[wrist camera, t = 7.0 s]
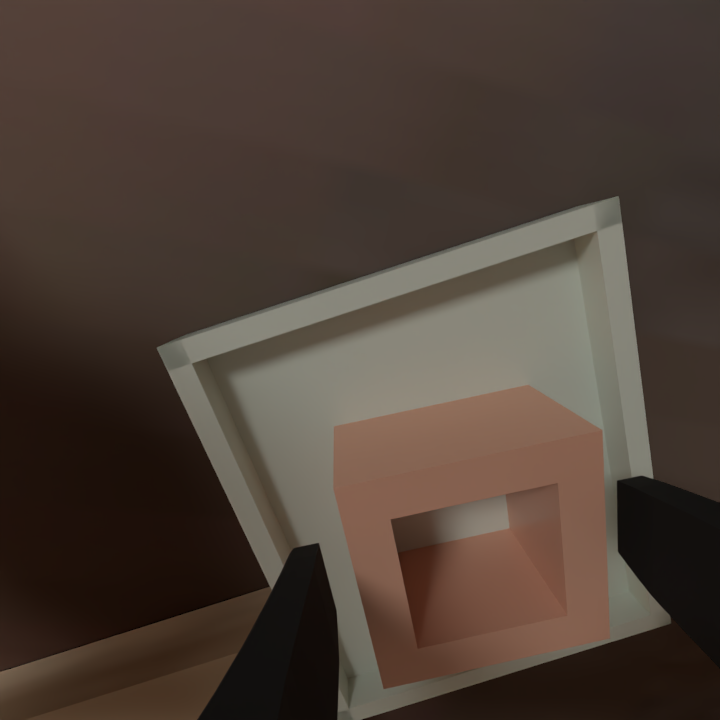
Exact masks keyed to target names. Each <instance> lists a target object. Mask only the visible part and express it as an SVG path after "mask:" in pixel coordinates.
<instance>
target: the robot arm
mask: <svg viewBox="0 0 720 720" xmlns="http://www.w3.org/2000/svg"><path fill="white" fill-rule="evenodd" d="M617 532H618V553H619V554H620V555H621V557H622V558H623V559H624V561H625V562H626V563H627V565H628V566H629V567H630V569H631V570H632V571H633V573H634V574H635V576H636V577H637V578H638V579H639V581H640V582H641V583H642V584H643V586H644V587H645V588H646V589H647V591H648V592H649V593H650V594H651V596H652V597H653V598H654V599H655V600H656V601H657V602H658V603H659V604H660V606H661V607H662V608H663V609H664V610H665V611H666V612H667V613H668V614H669V615H670V616H671V617H672V618H673V619H674V621H675V622H676V623H677V624H678V625H679V626H680V627H681V628H682V629H683V630H684V631H685V632H686V633H687V634H688V635H689V636H690V638H691V639H692V640H693V641H694V642H695V643H696V644H697V645H698V646H699V647H700V648H701V649H702V650H703V651H704V652H705V653H706V654H707V655H708V656H709V657H710V659H711V660H712V661H713V662H714V663H715V664H716V665H717V666H718V667H719V668H720V503H719V502H716V501H713V500H710V499H708V498H705V497H702V496H700V495H697V494H694V493H692V492H689V491H686V490H683V489H681V488H678V487H675V486H672V485H669V484H667V483H664V482H661V481H658V480H655V479H652V478H648V477H645V476H637V477H632V478H627V479H622V480H618V481H617ZM338 689H339V643H338V625H337V610H336V607H335V603H334V599H333V595H332V591H331V587H330V583H329V580H328V576H327V572H326V568H325V564H324V560H323V557H322V553H321V549H320V545H319V543H315V544H311V545H306V546H301V547H296V548H293V549H292V551H291V552H290V554H289V556H288V558H287V560H286V562H285V564H284V567H283V569H282V571H281V573H280V575H279V577H278V579H277V581H276V583H275V585H274V587H273V589H272V591H271V593H270V595H269V597H268V599H267V601H266V603H265V605H264V607H263V609H262V610H261V612H260V614H259V616H258V618H257V620H256V622H255V623H254V625H253V627H252V629H251V631H250V633H249V635H248V636H247V638H246V640H245V642H244V644H243V645H242V647H241V649H240V650H239V652H238V654H237V656H236V657H235V659H234V661H233V662H232V664H231V666H230V667H229V669H228V671H227V672H226V674H225V676H224V677H223V679H222V681H221V682H220V684H219V686H218V688H217V689H216V691H215V692H214V694H213V696H212V697H211V699H210V700H209V702H208V704H207V705H206V707H205V708H204V710H203V711H202V713H201V714H200V716H199V718H198V719H197V720H337V716H338Z"/></svg>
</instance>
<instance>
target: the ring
mask: <svg viewBox="0 0 720 720" xmlns="http://www.w3.org/2000/svg"><path fill="white" fill-rule="evenodd" d="M333 489H334V493H335V497H336V501H337V505H338V509H339V513H340V517H341V521H342V525H343V529H344V533H345V537H346V541H347V545H348V549H349V553H350V557H351V561H352V565H353V569H354V573H355V577H356V581H357V585H358V589H359V593H360V597H361V601H362V605H363V609H364V613H365V617H366V621H367V625H368V629H369V633H370V637H371V641H372V645H373V649H374V653H375V657H376V661H377V665H378V669H379V673H380V677H381V681H382V685H383V689H387V688H392V687H396V686H401V685H405V684H409V683H414V682H418V681H423V680H427V679H432V678H436V677H441V676H445V675H450V674H454V673H459V672H463V671H467V670H472V669H476V668H481V667H485V666H490V665H494V664H499V663H503V662H508V661H512V660H516V659H521V658H525V657H530V656H534V655H539V654H543V653H548V652H552V651H557V650H561V649H566V648H570V647H574V646H579V645H583V644H588V643H592V642H597V641H601V640H606V639H610V624H609V596H608V569H607V541H606V513H605V486H604V458H603V430H601V429H600V428H598V427H596V426H595V425H593V424H592V423H590V422H588V421H587V420H585V419H583V418H582V417H580V416H579V415H577V414H575V413H574V412H572V411H570V410H569V409H567V408H566V407H564V406H562V405H561V404H559V403H557V402H556V401H554V400H553V399H551V398H549V397H548V396H546V395H544V394H543V393H541V392H540V391H538V390H536V389H535V388H533V387H531V386H530V385H525V386H520V387H515V388H511V389H506V390H501V391H497V392H492V393H487V394H483V395H478V396H473V397H469V398H464V399H459V400H455V401H450V402H445V403H441V404H436V405H431V406H427V407H422V408H417V409H413V410H408V411H403V412H399V413H394V414H389V415H385V416H380V417H375V418H371V419H366V420H361V421H357V422H352V423H347V424H343V425H338V426H334V461H333ZM505 494H506V502H507V511H508V519H509V528H508V529H504V530H499V531H495V532H490V533H486V534H481V535H476V536H472V537H467V538H463V539H458V540H454V541H449V542H445V543H440V544H435V545H431V546H426V547H422V548H417V549H413V550H408V551H404V552H399V553H397V548H396V543H395V538H394V534H393V529H392V524H391V520H390V519H395V518H400V517H404V516H409V515H413V514H418V513H423V512H427V511H432V510H436V509H441V508H445V507H450V506H455V505H459V504H464V503H468V502H473V501H478V500H482V499H487V498H491V497H496V496H500V495H505Z"/></svg>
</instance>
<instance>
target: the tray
mask: <svg viewBox="0 0 720 720" xmlns="http://www.w3.org/2000/svg"><path fill="white" fill-rule="evenodd" d="M157 350H158V352H159V354H160V356H161V358H162V360H163V362H164V365H165V367H166V369H167V371H168V373H169V375H170V377H171V379H172V381H173V383H174V386H175V388H176V390H177V392H178V394H179V396H180V398H181V400H182V402H183V404H184V407H185V409H186V411H187V413H188V415H189V417H190V419H191V421H192V423H193V426H194V428H195V430H196V432H197V434H198V436H199V438H200V440H201V442H202V444H203V447H204V449H205V451H206V453H207V455H208V457H209V459H210V461H211V463H212V466H213V468H214V470H215V472H216V474H217V476H218V478H219V480H220V482H221V484H222V487H223V489H224V491H225V493H226V495H227V497H228V499H229V501H230V503H231V506H232V508H233V510H234V512H235V514H236V516H237V518H238V520H239V522H240V524H241V527H242V529H243V531H244V533H245V535H246V537H247V539H248V541H249V543H250V545H251V548H252V550H253V552H254V554H255V556H256V558H257V560H258V562H259V564H260V567H261V569H262V571H263V573H264V575H265V577H266V579H267V581H268V583H269V585H270V588H271V590H272V589H273V587H274V585H275V583H276V581H277V579H278V577H279V575H280V573H281V571H282V569H283V567H284V564H285V562H286V560H287V558H288V556H289V554H290V552H291V551H292V549H293V548H296V547H301V546H306V545H311V544H315V543H319V545H320V549H321V553H322V557H323V560H324V564H325V568H326V572H327V576H328V580H329V583H330V587H331V591H332V595H333V599H334V603H335V607H336V610H337V625H338V643H339V689H338V716H337V720H362V719H365V718H368V717H371V716H375V715H378V714H381V713H384V712H388V711H391V710H394V709H397V708H400V707H404V706H407V705H410V704H413V703H417V702H420V701H423V700H426V699H429V698H433V697H436V696H439V695H442V694H446V693H449V692H452V691H455V690H458V689H462V688H465V687H468V686H471V685H475V684H478V683H481V682H484V681H487V680H491V679H494V678H497V677H500V676H504V675H507V674H510V673H513V672H516V671H520V670H523V669H526V668H529V667H533V666H536V665H539V664H542V663H545V662H549V661H552V660H555V659H558V658H562V657H565V656H568V655H571V654H574V653H578V652H581V651H584V650H587V649H591V648H594V647H597V646H600V645H603V644H607V643H610V642H613V641H616V640H620V639H623V638H626V637H629V636H632V635H636V634H639V633H642V632H645V631H649V630H652V629H655V628H658V627H661V626H665V625H668V624H671V618H670V615H669V614H668V613H667V612H666V611H665V610H664V609H663V608H662V607H661V606H660V604H659V603H658V602H657V601H656V600H655V599H654V598H653V597H652V596H651V594H650V593H649V592H648V591H647V589H646V588H645V587H644V586H643V584H642V583H641V582H640V581H639V579H638V578H637V577H636V576H635V574H634V573H633V571H632V570H631V569H630V567H629V566H628V565H627V563H626V562H625V561H624V559H623V558H622V557H621V555H620V554H619V553H618V532H617V481H618V480H622V479H627V478H632V477H637V476H645V477H648V478H652V479H653V472H652V463H651V455H650V447H649V439H648V431H647V423H646V415H645V406H644V398H643V390H642V382H641V374H640V366H639V358H638V349H637V341H636V333H635V325H634V317H633V309H632V301H631V292H630V284H629V276H628V268H627V260H626V252H625V244H624V235H623V227H622V219H621V211H620V203H619V196H617V197H613V198H609V199H605V200H601V201H597V202H593V203H589V204H585V205H581V206H577V207H574V208H571V209H568V210H565V211H562V212H559V213H556V214H552V215H549V216H546V217H543V218H540V219H537V220H534V221H531V222H528V223H525V224H522V225H519V226H516V227H513V228H510V229H507V230H504V231H501V232H498V233H495V234H492V235H488V236H485V237H482V238H479V239H476V240H473V241H470V242H467V243H464V244H461V245H458V246H455V247H452V248H449V249H446V250H443V251H440V252H437V253H434V254H431V255H428V256H424V257H421V258H418V259H415V260H412V261H409V262H406V263H403V264H400V265H397V266H394V267H391V268H388V269H385V270H382V271H379V272H376V273H373V274H370V275H367V276H364V277H361V278H357V279H354V280H351V281H348V282H345V283H342V284H339V285H336V286H333V287H330V288H327V289H324V290H321V291H318V292H315V293H312V294H309V295H306V296H303V297H300V298H297V299H293V300H290V301H287V302H284V303H281V304H278V305H275V306H272V307H269V308H266V309H263V310H260V311H257V312H254V313H251V314H248V315H245V316H242V317H239V318H236V319H233V320H229V321H226V322H223V323H220V324H217V325H214V326H211V327H208V328H205V329H202V330H199V331H196V332H193V333H190V334H187V335H184V336H181V337H179V338H177V339H175V340H172V341H170V342H168V343H166V344H164V345H162V346H159V347H157ZM525 385H530V386H531V387H533V388H535V389H536V390H538V391H540V392H541V393H543V394H544V395H546V396H548V397H549V398H551V399H553V400H554V401H556V402H557V403H559V404H561V405H562V406H564V407H566V408H567V409H569V410H570V411H572V412H574V413H575V414H577V415H579V416H580V417H582V418H583V419H585V420H587V421H588V422H590V423H592V424H593V425H595V426H596V427H598V428H600V429H601V430H603V458H604V486H605V513H606V541H607V569H608V596H609V624H610V639H606V640H601V641H597V642H592V643H588V644H583V645H579V646H574V647H570V648H566V649H561V650H557V651H552V652H548V653H543V654H539V655H534V656H530V657H525V658H521V659H516V660H512V661H508V662H503V663H499V664H494V665H490V666H485V667H481V668H476V669H472V670H467V671H463V672H459V673H454V674H450V675H445V676H441V677H436V678H432V679H427V680H423V681H418V682H414V683H409V684H405V685H401V686H396V687H392V688H387V689H383V685H382V681H381V677H380V673H379V669H378V665H377V661H376V657H375V653H374V649H373V645H372V641H371V637H370V633H369V629H368V625H367V621H366V617H365V613H364V609H363V605H362V601H361V597H360V593H359V589H358V585H357V581H356V577H355V573H354V569H353V565H352V561H351V557H350V553H349V549H348V545H347V541H346V537H345V533H344V529H343V525H342V521H341V517H340V513H339V509H338V505H337V501H336V497H335V493H334V489H333V461H334V426H338V425H343V424H347V423H352V422H357V421H361V420H366V419H371V418H375V417H380V416H385V415H389V414H394V413H399V412H403V411H408V410H413V409H417V408H422V407H427V406H431V405H436V404H441V403H445V402H450V401H455V400H459V399H464V398H469V397H473V396H478V395H483V394H487V393H492V392H497V391H501V390H506V389H511V388H515V387H520V386H525ZM390 520H391V524H392V529H393V534H394V538H395V543H396V548H397V553H399V552H404V551H408V550H413V549H417V548H422V547H426V546H431V545H435V544H440V543H445V542H449V541H454V540H458V539H463V538H467V537H472V536H476V535H481V534H486V533H490V532H495V531H499V530H504V529H508V528H509V519H508V511H507V502H506V494H505V495H500V496H496V497H491V498H487V499H482V500H478V501H473V502H468V503H464V504H459V505H455V506H450V507H445V508H441V509H436V510H432V511H427V512H423V513H418V514H413V515H409V516H404V517H400V518H395V519H390Z"/></svg>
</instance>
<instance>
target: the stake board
mask: <svg viewBox="0 0 720 720" xmlns="http://www.w3.org/2000/svg"><path fill="white" fill-rule="evenodd" d="M271 591H272V590H271V588H270V587H267V588H264V589H261V590H258V591H255V592H251V593H248V594H245V595H242V596H239V597H236V598H232V599H229V600H226V601H223V602H220V603H217V604H214V605H210V606H207V607H204V608H201V609H198V610H195V611H191V612H188V613H185V614H182V615H179V616H176V617H173V618H169V619H166V620H163V621H160V622H157V623H154V624H150V625H147V626H144V627H141V628H138V629H135V630H131V631H128V632H125V633H122V634H119V635H116V636H113V637H109V638H106V639H103V640H100V641H97V642H94V643H90V644H87V645H84V646H81V647H78V648H75V649H72V650H68V651H65V652H62V653H59V654H56V655H53V656H49V657H46V658H43V659H40V660H37V661H34V662H31V663H27V664H24V665H21V666H18V667H15V668H12V669H8V670H5V671H2V672H0V720H197V719H198V718H199V716H200V714H201V713H202V711H203V710H204V708H205V707H206V705H207V704H208V702H209V700H210V699H211V697H212V696H213V694H214V692H215V691H216V689H217V688H218V686H219V684H220V682H221V681H222V679H223V677H224V676H225V674H226V672H227V671H228V669H229V667H230V666H231V664H232V662H233V661H234V659H235V657H236V656H237V654H238V652H239V650H240V649H241V647H242V645H243V644H244V642H245V640H246V638H247V636H248V635H249V633H250V631H251V629H252V627H253V625H254V623H255V622H256V620H257V618H258V616H259V614H260V612H261V610H262V609H263V607H264V605H265V603H266V601H267V599H268V597H269V595H270V593H271Z"/></svg>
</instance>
